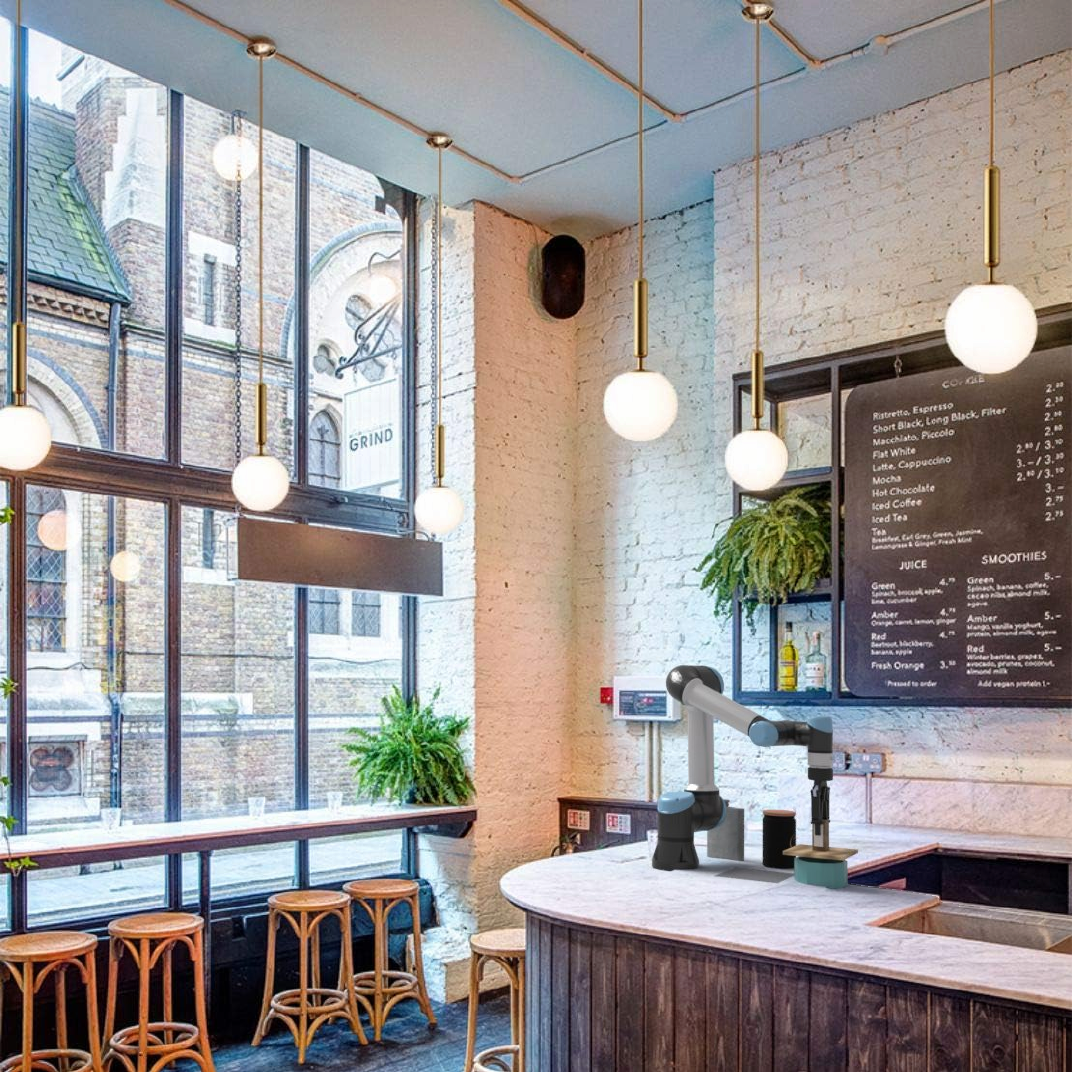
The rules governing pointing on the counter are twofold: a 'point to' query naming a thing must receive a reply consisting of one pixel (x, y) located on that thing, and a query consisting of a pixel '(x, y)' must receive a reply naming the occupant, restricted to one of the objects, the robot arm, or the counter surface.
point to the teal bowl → (821, 872)
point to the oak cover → (821, 848)
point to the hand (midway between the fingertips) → (820, 845)
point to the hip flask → (728, 836)
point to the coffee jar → (778, 838)
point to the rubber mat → (755, 875)
